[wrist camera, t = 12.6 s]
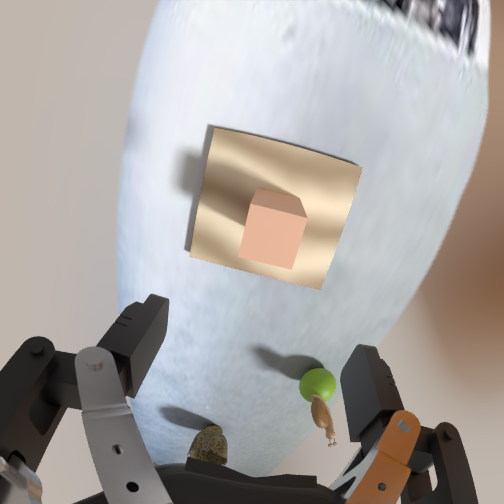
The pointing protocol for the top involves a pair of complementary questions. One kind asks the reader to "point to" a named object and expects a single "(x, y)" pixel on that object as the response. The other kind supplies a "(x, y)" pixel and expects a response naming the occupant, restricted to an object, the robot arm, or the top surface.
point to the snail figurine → (319, 397)
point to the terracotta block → (273, 229)
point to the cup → (210, 445)
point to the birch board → (278, 180)
